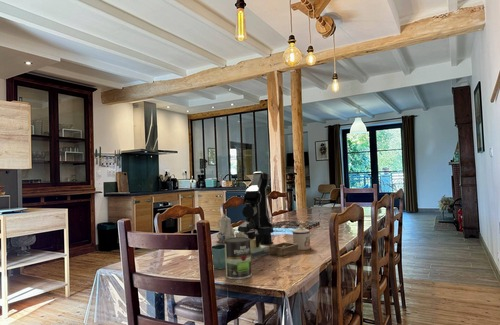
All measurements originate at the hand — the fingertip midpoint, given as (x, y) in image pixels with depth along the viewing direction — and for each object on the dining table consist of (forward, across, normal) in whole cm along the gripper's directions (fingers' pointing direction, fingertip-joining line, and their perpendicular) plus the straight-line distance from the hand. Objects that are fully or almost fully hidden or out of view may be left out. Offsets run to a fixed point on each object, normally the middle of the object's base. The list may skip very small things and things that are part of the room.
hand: (255, 246), depth 166 cm
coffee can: (+4, +20, -29) cm, 35 cm away
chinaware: (+4, -39, +17) cm, 42 cm away
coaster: (+4, 0, 0) cm, 4 cm away
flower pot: (+4, +5, -26) cm, 27 cm away
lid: (+1, 0, 0) cm, 1 cm away
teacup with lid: (+4, +11, +24) cm, 27 cm away
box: (+4, +11, +9) cm, 15 cm away
